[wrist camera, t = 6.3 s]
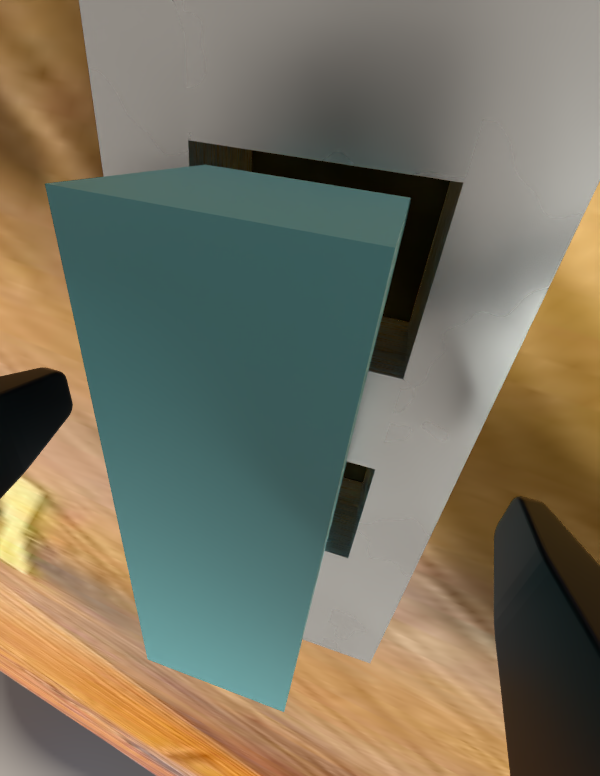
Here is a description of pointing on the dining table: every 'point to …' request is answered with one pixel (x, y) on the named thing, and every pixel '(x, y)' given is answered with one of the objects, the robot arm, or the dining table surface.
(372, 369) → the rail
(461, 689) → the dining table surface
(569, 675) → the robot arm
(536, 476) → the dining table surface
